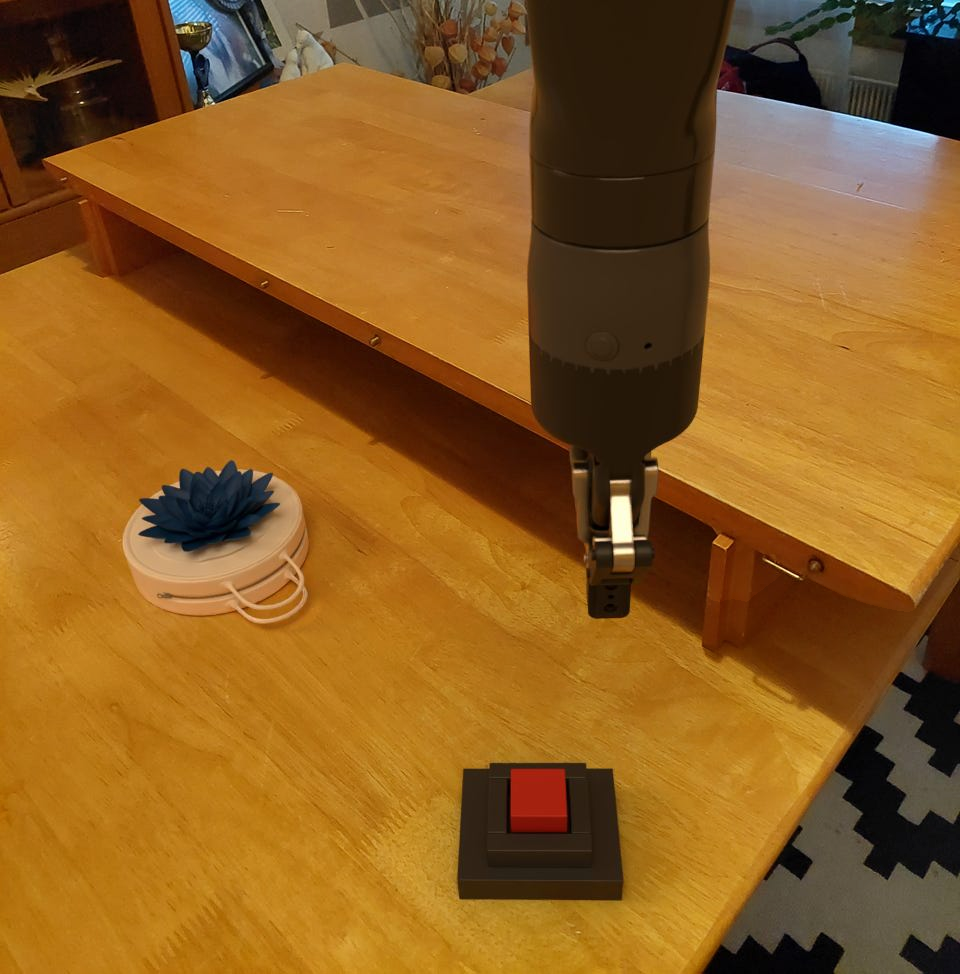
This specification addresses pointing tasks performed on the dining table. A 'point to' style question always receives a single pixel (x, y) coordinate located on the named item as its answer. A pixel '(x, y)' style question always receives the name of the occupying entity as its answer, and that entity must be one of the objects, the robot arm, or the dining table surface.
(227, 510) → the lotus flower trinket box
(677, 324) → the robot arm
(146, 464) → the dining table surface
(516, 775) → the red button cap
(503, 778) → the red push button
